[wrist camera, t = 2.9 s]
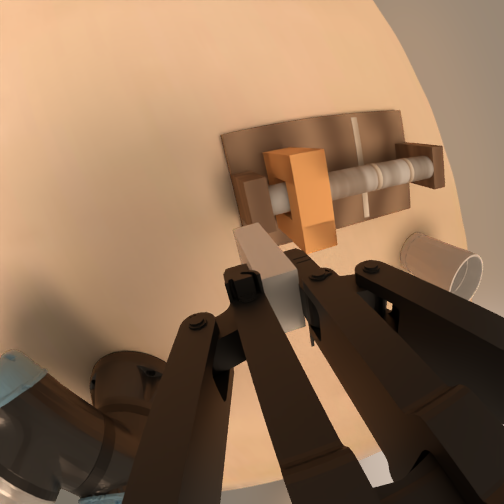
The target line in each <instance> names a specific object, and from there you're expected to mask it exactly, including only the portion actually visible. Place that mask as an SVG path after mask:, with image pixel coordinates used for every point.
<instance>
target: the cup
mask: <svg viewBox="0 0 504 504" xmlns="http://www.w3.org/2000/svg"><path fill="white" fill-rule="evenodd" d="M401 263H402V265H403V267H404V268H406V269H407V270H409V271H410V272H412V273H413V274H414V275H415V276H416V277H418V278H420V279H422V280H425V281H427V282H429V283H431V284H433V285H436V286H438V287H440V288H442V289H444V290H447V291H449V292H451V293H453V294H455V295H457V296H460V297H462V298H464V299H466V300H468V301H469V300H470V299H471V298H472V297H473V295H474V294H475V292H476V290H477V288H478V286H479V284H480V281H481V277H482V273H483V262H482V259H481V257H480V256H479V255H477V254H475V253H472V252H469V251H467V250H464V249H461V248H458V247H455V246H453V245H450V244H448V243H445V242H442V241H440V240H437V239H434V238H431V237H429V236H427V235H424V234H422V233H414V234H412V235H411V236H410V237H409V238H408V239H407V240H406V241H405V243H404V245H403V247H402V250H401Z"/></svg>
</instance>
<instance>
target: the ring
mask: <svg viewBox="0 0 504 504" xmlns="http://www.w3.org/2000/svg"><path fill="white" fill-rule="evenodd" d="M263 156H264V161H265V166H266V170H267V175H268V180H269V185H274V184H278V183H282V182H286V188H287V193H288V198H289V204H290V209H291V211H290V212H286V213H282V214H278V215H276V220H277V225H278V228H279V229H280V230H281V231H282V232H283V233H284V234H285V235H287V236H288V237H289V238H290V239H291V240H292V241H293V242H294V243H295V244H296V245H297V246H298V247H299V248H300V249H301V250H302V251H304V252H305V253H306V254H309V253H313V252H316V251H319V250H322V249H326V248H329V247H332V246H336V245H337V237H336V228H335V219H334V211H333V204H332V196H331V189H330V182H329V176H328V170H327V163H326V157H325V152H324V149H318V148H298V147H288V148H283V149H278V150H273V151H268V152H263Z"/></svg>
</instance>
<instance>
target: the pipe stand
mask: <svg viewBox="0 0 504 504" xmlns="http://www.w3.org/2000/svg"><path fill="white" fill-rule="evenodd" d="M221 138H222V142H223V146H224V151H225V155H226V159H227V163H228V168H229V172H230V176H231V180H232V184H233V189H234V193H235V197H236V201H237V206H238V210H239V214H240V218H241V222H242V227H243V226H247V225H250V224H254V223H259V224H260V225H261V226H262V228H263V229H264V230H265V231H266V232H267V233H268V235H269V236H270V237H271V238H272V239H273V241H274V242H275V243H276V244H277V245H278V246H279V245H283V244H286V243H290V242H293V241H292V240H291V239H290V238H289V237H288V236H287V235H285V234H284V233H283V232H282V231H281V230H280V229H279V228H278V225H277V220H276V215H278V214H282V213H286V212H290V211H291V209H290V204H289V198H288V193H287V188H286V182H282V183H278V184H274V185H269V180H268V175H267V170H266V166H265V161H264V156H263V152H268V151H273V150H278V149H283V148H288V147H298V148H318V149H324V152H325V157H326V163H327V170H328V176H329V182H330V189H331V196H332V204H333V211H334V219H335V228H336V229H339V228H342V227H346V226H349V225H353V224H356V223H360V222H363V221H367V220H370V219H374V218H377V217H381V216H384V215H388V214H391V213H395V212H398V211H402V210H405V209H409V208H410V190H409V183H414V184H417V185H421V186H425V187H428V188H432V189H438V188H442V187H445V178H444V161H443V148H442V146H437V145H428V144H419V143H407V142H405V138H404V130H403V124H402V117H401V111H400V110H396V111H377V112H363V113H351V114H341V115H332V116H324V117H316V118H309V119H302V120H295V121H289V122H283V123H277V124H271V125H266V126H261V127H255V128H250V129H246V130H241V131H236V132H232V133H227V134H223V135H221Z"/></svg>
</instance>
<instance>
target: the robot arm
mask: <svg viewBox="0 0 504 504" xmlns="http://www.w3.org/2000/svg"><path fill="white" fill-rule="evenodd" d="M233 232H234V236H235V240H236V244H237V248H238V252H239V256H240V260H241V264H242V265H238V266H235V267H231V268H228V269H226V270H225V272H224V274H223V275H224V279H225V286H226V290H227V293H228V297H229V300H230V306H229V308H228V309H227V310H226V311H225V312H224V313H222V314H220V315H219V316H217V317H215V316H214V315H213V314H211V313H207V312H201V313H197V314H193V315H191V316H189V317H187V318H186V319H185V320H184V321H183V322H182V324H181V325H180V328H179V330H178V333H177V336H176V338H175V341H174V344H173V347H172V349H171V352H170V355H169V358H168V360H167V363H165V362H164V361H162V360H160V359H158V358H156V357H153V356H150V355H147V354H143V353H138V352H116V353H112V354H109V355H107V356H105V357H103V358H102V359H100V360H99V361H98V362H97V363H96V365H95V366H94V368H93V371H92V375H91V378H90V393H91V400H92V405H91V404H89V403H88V402H86V401H85V400H83V399H82V398H80V397H79V396H77V395H76V394H74V393H73V392H72V391H70V390H69V389H68V388H66V387H65V386H63V385H62V384H61V383H60V382H58V381H57V380H56V379H54V378H53V377H52V376H51V375H50V374H48V370H46V369H45V368H41V367H40V366H39V365H37V364H36V363H35V362H34V361H32V360H31V359H30V358H29V357H27V356H26V355H25V354H24V353H22V352H21V351H18V350H9V351H6V352H5V353H4V354H3V355H2V356H1V357H0V504H53V503H55V501H56V499H57V496H58V494H59V491H60V489H64V490H66V491H69V492H71V493H73V494H75V495H77V496H79V497H80V499H79V501H78V503H79V504H220V500H221V490H222V480H223V471H224V461H225V452H226V442H227V433H228V424H229V414H230V405H231V396H232V386H233V377H234V368H233V367H235V366H236V365H238V364H240V363H242V362H244V361H245V360H247V363H248V366H249V370H250V373H251V377H252V380H253V383H254V387H255V390H256V393H257V396H258V400H259V403H260V406H261V409H262V413H263V416H264V419H265V422H266V425H267V428H268V431H269V435H270V438H271V441H272V444H273V447H274V450H275V453H276V456H277V459H278V462H279V465H280V468H281V472H282V476H283V479H284V482H285V485H286V488H287V490H288V493H289V496H290V499H291V502H292V504H504V426H503V424H504V318H503V317H501V316H499V315H497V314H495V313H493V312H491V311H489V310H487V309H485V308H483V307H481V306H479V305H477V304H474V303H472V302H470V301H468V300H466V299H464V298H462V297H460V296H457V295H455V294H453V293H451V292H449V291H447V290H444V289H442V288H440V287H438V286H436V285H433V284H431V283H429V282H427V281H425V280H422V279H420V278H418V277H416V276H413V275H411V274H409V273H406V272H404V271H402V270H399V269H397V268H395V267H393V266H390V265H388V264H386V263H383V262H380V261H375V260H367V261H364V262H361V263H359V264H358V265H356V267H355V274H353V275H346V276H339V275H338V274H337V273H335V272H334V271H333V270H331V269H329V268H320V267H319V266H318V265H317V264H316V263H315V262H314V261H313V260H312V259H311V258H310V257H309V256H308V255H307V254H306V253H305V252H304V251H302V250H299V249H296V248H295V249H292V250H288V251H285V252H283V251H282V250H281V249H280V248H279V247H278V245H277V244H276V243H275V242H274V241H273V239H272V238H271V237H270V236H269V235H268V233H267V232H266V231H265V230H264V229H263V228H262V226H261V225H260V224H259V223H254V224H250V225H247V226H243V227H239V228H236V229H233ZM387 301H388V302H390V303H392V304H393V305H392V311H391V310H389V309H387V308H386V305H387ZM304 316H305V318H306V319H307V321H308V324H309V332H310V339H311V345H312V346H314V340H315V342H316V343H317V345H318V347H319V348H320V350H321V351H322V353H323V355H324V356H325V358H326V360H327V361H328V363H329V364H330V366H331V368H332V369H333V371H334V373H335V374H336V376H337V377H338V379H339V381H340V382H341V384H342V386H343V387H344V389H345V391H346V392H347V394H348V396H349V397H350V399H351V400H352V402H353V404H354V405H355V407H356V409H357V410H358V412H359V414H360V415H361V417H362V419H363V420H364V422H365V423H366V425H367V427H368V428H369V430H370V432H371V433H372V435H373V437H374V438H375V440H376V442H377V443H378V445H379V447H380V448H381V450H382V452H383V453H384V455H385V457H386V459H387V461H388V465H389V471H390V474H391V477H392V479H393V481H394V482H393V483H390V484H386V485H382V486H379V487H375V488H372V486H371V484H370V482H369V480H368V478H367V477H366V475H365V473H364V471H363V469H362V467H361V465H360V464H359V462H358V460H357V458H356V457H355V455H354V453H353V452H352V451H351V449H350V448H349V447H346V446H344V445H343V444H342V443H341V441H340V439H339V437H338V435H337V434H336V432H335V430H334V428H333V426H332V424H331V422H330V420H329V418H328V416H327V414H326V412H325V410H324V408H323V406H322V405H321V403H320V401H319V399H318V397H317V395H316V393H315V391H314V389H313V387H312V385H311V383H310V381H309V379H308V377H307V375H306V373H305V371H304V370H303V368H302V366H301V364H300V362H299V360H298V358H297V356H296V354H295V352H294V350H293V348H292V346H291V344H290V342H289V340H288V338H287V336H286V334H285V333H287V332H290V331H293V330H296V329H299V328H302V327H305V326H306V325H305V318H304Z"/></svg>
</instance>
